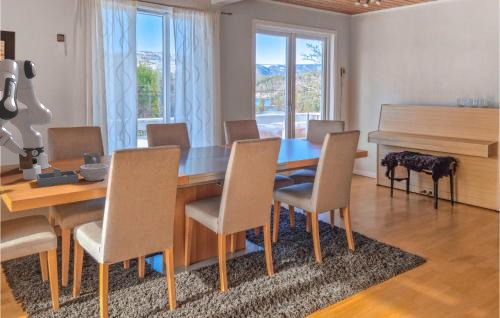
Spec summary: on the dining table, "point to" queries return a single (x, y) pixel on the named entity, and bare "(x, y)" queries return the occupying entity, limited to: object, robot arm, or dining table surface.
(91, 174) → the paper bowls
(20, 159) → the sleeve
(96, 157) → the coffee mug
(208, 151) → the dining table surface
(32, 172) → the medicine bottle
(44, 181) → the tray
